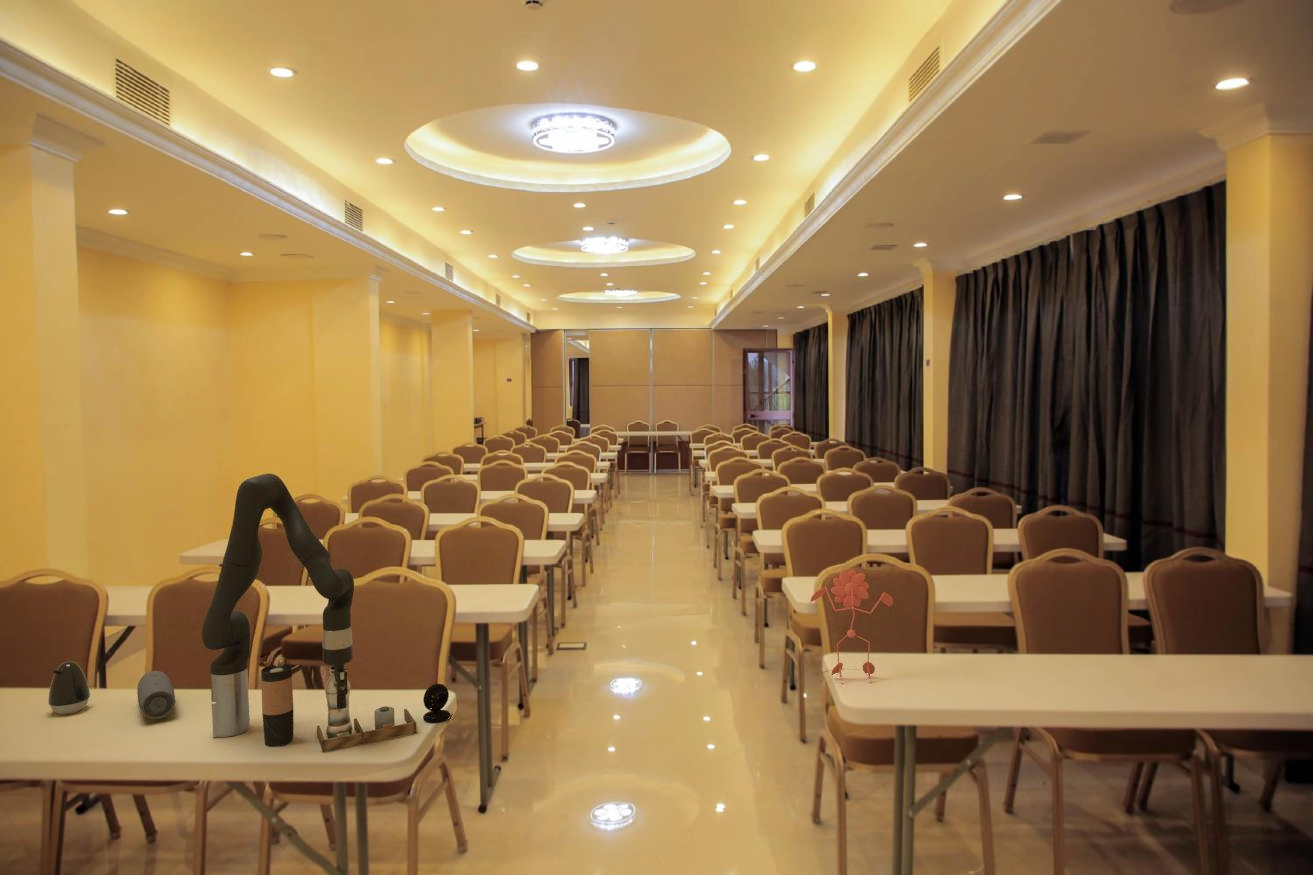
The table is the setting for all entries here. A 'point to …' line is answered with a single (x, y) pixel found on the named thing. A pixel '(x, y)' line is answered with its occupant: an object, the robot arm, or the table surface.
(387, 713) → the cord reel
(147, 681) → the bluetooth speaker
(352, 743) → the slot rack
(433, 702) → the webcam
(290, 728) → the travel mug
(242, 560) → the robot arm
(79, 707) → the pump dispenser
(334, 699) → the plastic bottle
